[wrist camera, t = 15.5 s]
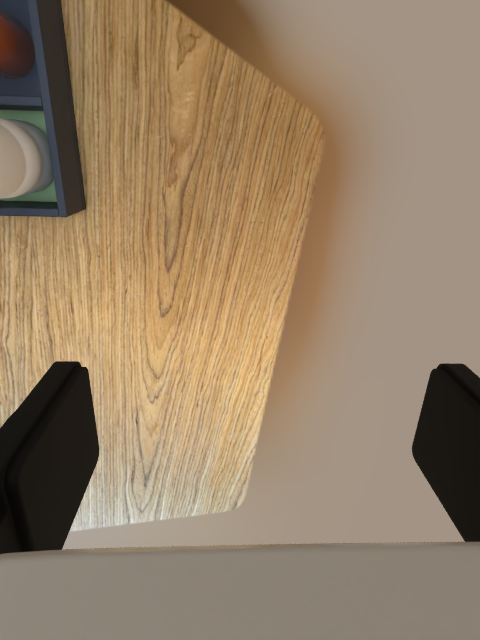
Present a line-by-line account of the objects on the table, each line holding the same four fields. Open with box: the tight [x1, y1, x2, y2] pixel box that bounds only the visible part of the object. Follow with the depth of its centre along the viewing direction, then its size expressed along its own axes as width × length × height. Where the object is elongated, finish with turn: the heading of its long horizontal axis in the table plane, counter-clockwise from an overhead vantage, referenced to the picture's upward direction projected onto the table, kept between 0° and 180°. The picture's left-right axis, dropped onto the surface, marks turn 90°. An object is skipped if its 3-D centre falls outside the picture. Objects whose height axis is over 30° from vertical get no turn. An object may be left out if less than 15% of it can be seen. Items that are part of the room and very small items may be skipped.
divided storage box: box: [0, 0, 86, 217], centre depth 38 cm, size 11×20×6 cm, turn 178°
